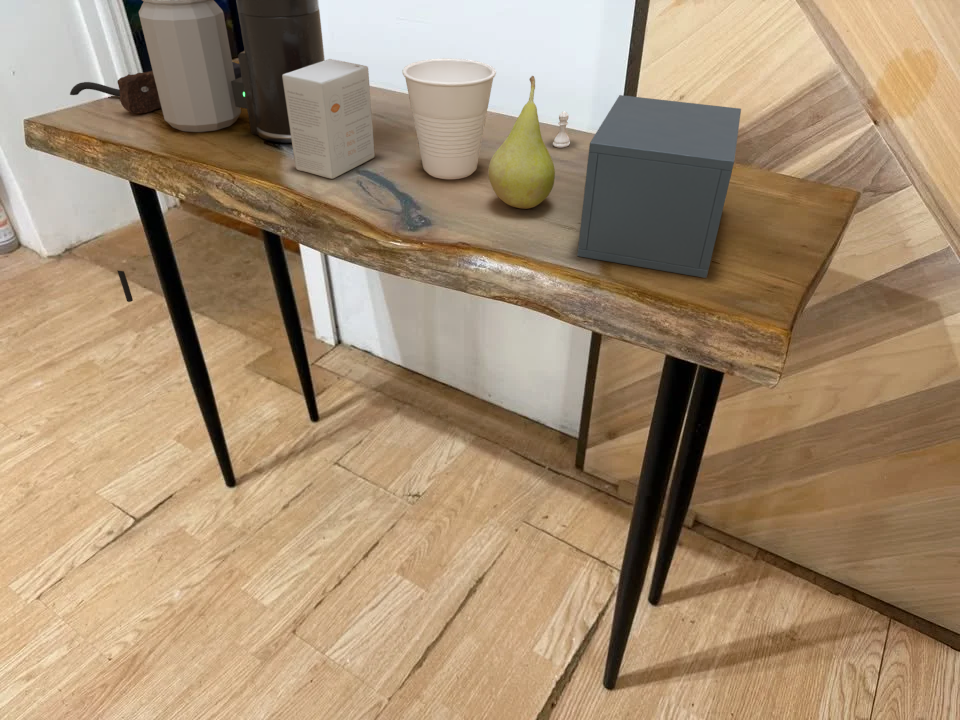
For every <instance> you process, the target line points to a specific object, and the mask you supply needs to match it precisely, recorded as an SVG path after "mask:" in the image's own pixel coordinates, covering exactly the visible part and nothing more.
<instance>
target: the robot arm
mask: <svg viewBox="0 0 960 720" xmlns="http://www.w3.org/2000/svg"><path fill="white" fill-rule="evenodd" d="M235 2H236V9H237V13H238V19H239V20H238V21H239V25H240V32H241V38H242V43H243V51H241V52H239V54H238V55H237V58H238V64H239V65H240V71H241V76H242V77H240V78H238V79H235V80H233V81H231V84H232V90H233V95H234V101H235V106H236V107H240V108H242V109H246V110H247V116H248V121H249V127H250V134H252V135H257V136H258V137H260V138H261V139H263V140H265V141H270V142H275V143H283V144H284V143H285V144H292V139H291V133H290V126H289V119H288V112H287V105H286V98H285V91H284V85H283V78H282V75H283V74H286V73H289V72H292V71H295V70H298V69H301V68H304V67H307V66H310V65H313V64H316V63H319V62H322V61H325V60H326V59H325V58H326V57H325V51H324V50H325V49H324V40H323V32H322V30H323V29H322V22H321V12H320V11H321V10H320V4H319V0H235ZM85 90H92V91H97V92H101V93H104V94H107V95H110V96H115V97H118V98H120V91H119V88H115V87H112V86H107V85H104V84H101V83H97V82H92V81H82V82H79V83H77V84H75V85H74V86H73V87H72V88H71V90H70V92H69V95H70V96H77V95H79V94H80V93H81V92H83V91H85ZM117 275H118V277H119V281H120V284H121V287H122V290H123V293H124V296H125V299H126V302H128V303H130V302H131V303H132V302H133V301H134V300H133V299H134V298H133V295H132V292H131V289H130V286H129V282H128V279H127V276H126V273H125V271H124V270H117Z"/></svg>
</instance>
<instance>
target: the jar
mask: <svg viewBox="0 0 960 720" xmlns="http://www.w3.org/2000/svg"><path fill="white" fill-rule="evenodd" d="M141 1H142V2H143V3H142V4H141V6H140V9H139V10H138V16H139V20H140V25H141V29H142V34H143V35H144V36H143V37H144V41H145V44H146V50H147V53H148V58H149V61H150V65H151V66H150V67H151V69H152V70H153V74H154V78H155V82H156V86H157V91H158V95H159V99H160V103H161V107H162V108H161V111H162V115H163V118H164V122H166V123H167V124H168V125H169V126H170V127H172V128H173V129H176V130H179V131H181V132H188V133H189V132H190V133H205V132H213V131H219V130H221V129H226V128H229V127H231V126H232V125H233V124H234V123H236V122H237V120H238V119H239V118H240V115H241V114H242V109H241V108H240V107H236V106H235V101H234V95H233V90H232V84H231V81H233V80H235V75H234V69H233V64H232V62H233V59H232V52H231V48H230V42H229V35H228V30H227V26H226V21H225V20H226V19H225V14H224V11H223V9H222V8H221V7H220V6H219V4H218V3H217V2H216V1H215V0H141ZM152 70H151V71H152Z"/></svg>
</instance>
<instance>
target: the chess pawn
mask: <svg viewBox="0 0 960 720" xmlns="http://www.w3.org/2000/svg"><path fill="white" fill-rule="evenodd" d="M569 116H570V114H568V112H567V111H562V112H560V113H559V115H558V119H559V122H558V126H559V131H558V133H557V135H556V136H555V138H554V139H553V142H552V145H553V147H555V148H559V149H560V148H567V147H569V146H570V144H571V141H570V137H569V136H568V134H567V131H566V129H567V125H568V124H569V122H568V120H569Z"/></svg>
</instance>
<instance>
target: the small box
mask: <svg viewBox="0 0 960 720" xmlns="http://www.w3.org/2000/svg"><path fill="white" fill-rule="evenodd" d="M369 75H370V74H369V66H367V65H364V64H359V63H353V62H349V61H343V60H339V59H334V58H328V59H325V61H322V62H319V63H316V64H313V65H310V66H307V67H304V68H301V69H298V70H295V71H292V72H289V73H286V74H283V75H282V78H283V85H284V91H285V98H286V105H287V112H288V119H289V126H290V133H291V139H292V143H291V145H292V152H293V160H294V166H295V169H296V170H298V171H301V172H305V173H309V174H312V175H315V176H320V177H323V178H327V179H330V180H333V179H336V178H338V177H340V176H341V175H344V174H345V173H347V172H349V171H352V170H353V169H355V168H357V167H359V166H360V165H362V164H365V163H366V162H368V161H370V160H372V159H374V158H375V156H376V155H375V142H374V127H373V115H372V102H371V101H372V100H371V88H370V76H369Z"/></svg>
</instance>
